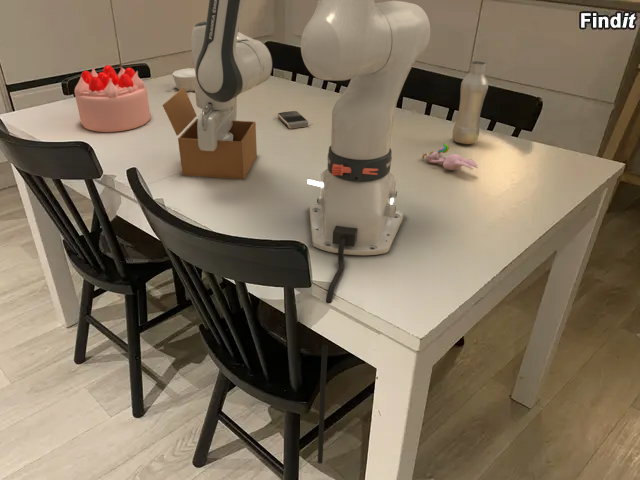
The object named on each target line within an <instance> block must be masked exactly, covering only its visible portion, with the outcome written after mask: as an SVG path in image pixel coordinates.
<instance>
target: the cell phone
mask: <svg viewBox="0 0 640 480" xmlns="http://www.w3.org/2000/svg"><path fill="white" fill-rule="evenodd" d="M277 117H278V119H279V120H280V121H281V122H282V123H283V124H284V125H285V126H286V127H287V128H288V129H291V130H292V129H297V128H306V127H308V125H309V120H307V119H306V118H305V116H303V115H302V114H301V113H299V112H298V111H296V110H292V111H283V112H278V113H277Z"/></svg>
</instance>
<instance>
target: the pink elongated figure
mask: <svg viewBox="0 0 640 480" xmlns="http://www.w3.org/2000/svg"><path fill="white" fill-rule="evenodd" d="M442 144H443V147H441V148H440V149H438V150H437V151H435V150H432V151H431V150H429V153H422V155H421V159H422V160H424V159H425V158H426V161H427V163H428V164H439V165H442V167H443V168H444V169H446V170H448V171H453V170H459V169H460V168H461V167H462V166H463V167H466V168H468V169H470V170H474V168H476V169H478V164H477V162H476V161H475V160H473V159H470V158H464V157H463V156H461V154H459V153H450V154H448V155H447V156H446V157H445V156H443V154H445V153H448V152H449V150H450V146H449V145H448V144H447V143H442Z"/></svg>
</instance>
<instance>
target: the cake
mask: <svg viewBox="0 0 640 480" xmlns="http://www.w3.org/2000/svg"><path fill="white" fill-rule="evenodd" d="M91 69H92V70H91V72H90V71H89V70H84V71H82V72H81V75H80V78H79V80H78V82H77V84H76V85H75V87H74V96H75V101H76V106H77V110H78V111H77V112H78V116H79V120H80V124H81V125H82V127H83V128H85V129H86V130H89V131H93V132H100V133H101V132H102V133H114V132H115V133H116V132H123V131H128V130H132V129H134V130H135V129H136V128H140V127H142V126H145V124H148V122H149V121H150V120H151V111H150V103H149V97H148V96H149V95H148V90H147V85H146V84H145V82H144V81H143V79H141V78H140V77H139V71H138V70H136V71H135V70H134V69H133V68H132V67H126V68H123V67H122V66H120V70H119V72H118V73H117V72H116V70H115V69H114V68H113V66H112V65H110V64H106V65H105V66H104V67H103V70H102V71H99V72H98V73H97V71H96V70H95V67H92V68H91Z"/></svg>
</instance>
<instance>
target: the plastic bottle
mask: <svg viewBox="0 0 640 480" xmlns="http://www.w3.org/2000/svg"><path fill="white" fill-rule="evenodd" d="M486 67H487V62H485V61H479V60H473V61H471V62H470V63H469V68H468V74H467V75H466V76H465V77H464V78H463V79H462V81H461V84H460V92H459V94H460V96H459V107H458V112H457V116H456V119H455V123H454V125H453V128H452V139H453V141H454V142H456V143H459V144H462V145H471V144H474V143H475V142H476V141H477V140H478V138H479V136H480V122H481V113H482V108H483V105H484V101H485V98H486V95H487V93H488V89H489V81H488V79H487V77H486V75H485V72H486V69H487V68H486Z"/></svg>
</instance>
